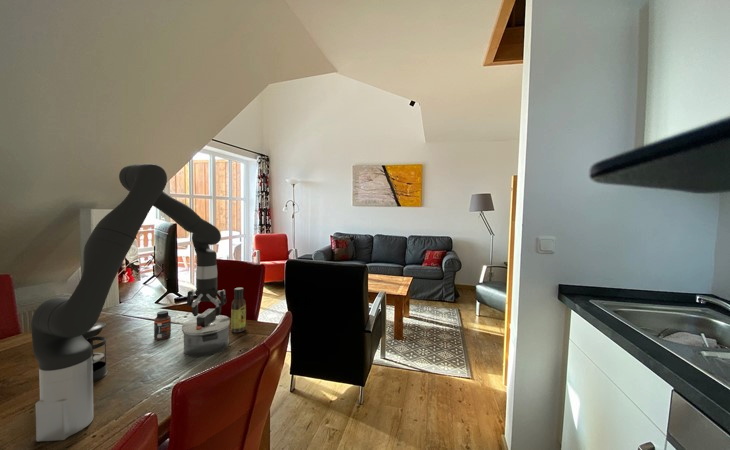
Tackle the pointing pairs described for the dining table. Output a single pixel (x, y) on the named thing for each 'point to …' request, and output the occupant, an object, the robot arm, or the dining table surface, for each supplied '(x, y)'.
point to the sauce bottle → (238, 311)
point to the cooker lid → (206, 323)
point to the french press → (98, 365)
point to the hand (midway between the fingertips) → (206, 315)
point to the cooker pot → (206, 343)
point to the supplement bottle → (162, 326)
